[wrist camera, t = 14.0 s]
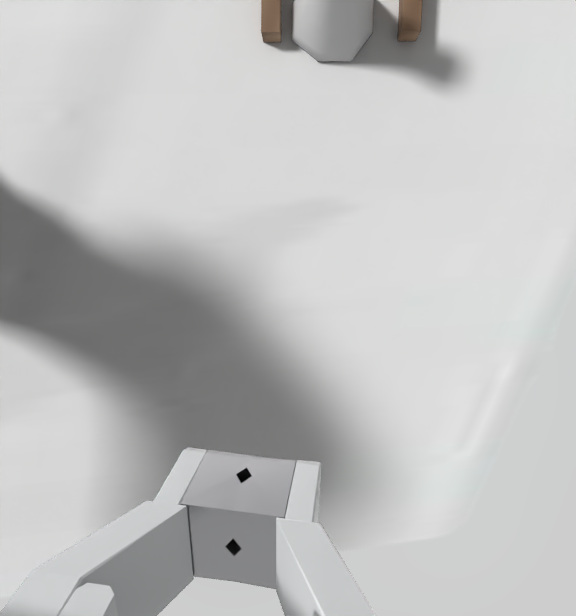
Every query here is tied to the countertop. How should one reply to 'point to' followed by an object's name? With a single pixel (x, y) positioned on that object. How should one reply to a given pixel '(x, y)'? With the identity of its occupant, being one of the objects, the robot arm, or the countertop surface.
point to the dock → (406, 25)
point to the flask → (332, 27)
